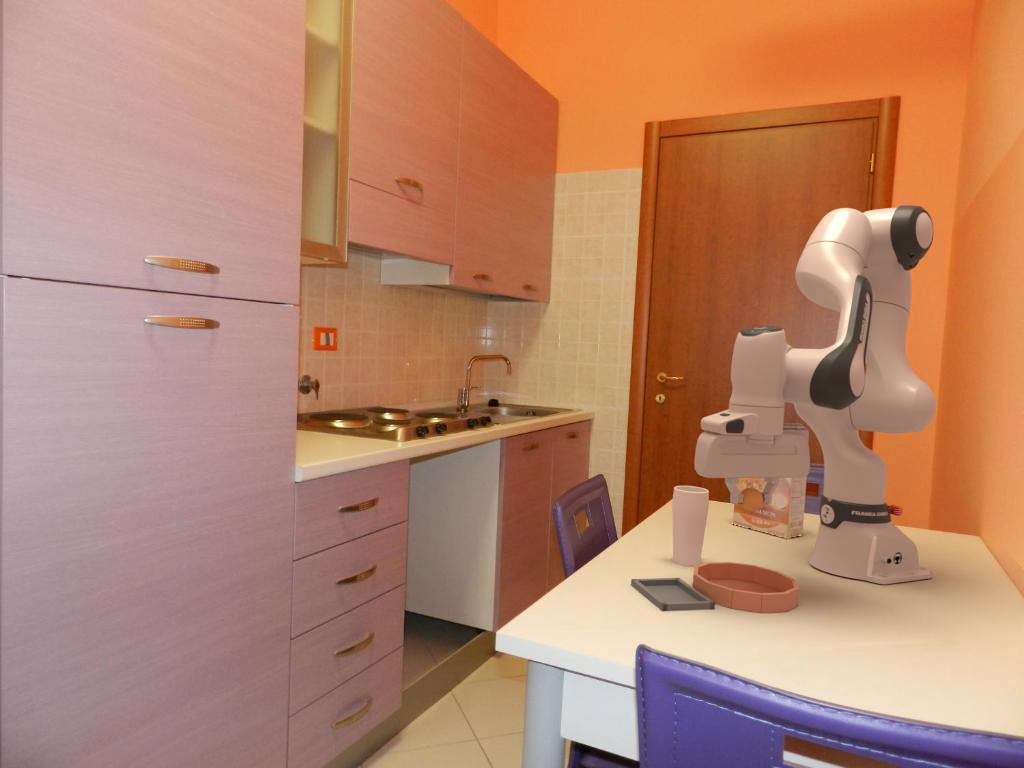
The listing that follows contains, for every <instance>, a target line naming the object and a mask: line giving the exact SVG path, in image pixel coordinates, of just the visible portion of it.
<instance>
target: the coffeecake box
mask: <svg viewBox="0 0 1024 768" xmlns="http://www.w3.org/2000/svg"><path fill="white" fill-rule="evenodd" d="M807 476H808V475H807ZM807 476H806V477H805V478H779V485H778V486H777V488H776V489H775V491H774V493H773V494H772V502H771V504H763V505H762V507H761V508H760V509H758V510H757V511H747V510H745V509H743V508H742V507H741V505H740V504H733V519H732V525H733V524H736V525H740V526H744V527H747V528H751V529H755V530H758V531H762V532H765V533H769V534H773V535H777V536H780V537H784V538H790V537H795V536H799V535H802V536H803V534H804V533H803V532H804V531H803V530H804V519H805V515H804V514H805V507H806V506H805V505H806V492H807V491H806V490H807ZM766 484H767V482H765V478H739V484H736V486H737V489H738V491H739V493H741V491H742V490H744V489H746V488H755V489H757V490H759V491H760V492H763V490H764V488H765V486H766ZM747 528H746V529H747ZM758 531H757V532H758ZM762 532H761V533H762ZM765 533H764V534H765ZM769 534H768V535H769ZM773 535H772V536H773ZM780 537H779V538H780ZM784 538H783V539H784ZM795 538H796V537H795Z"/></svg>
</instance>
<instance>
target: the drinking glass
mask: <svg viewBox="0 0 1024 768" xmlns="http://www.w3.org/2000/svg"><path fill="white" fill-rule="evenodd" d="M709 496H710V491H709V490H708V488H704V487H699V486H693V485H677V486H674V487H673V494H672V512H671V513H672V516H671V517H672V562H673V563H675V564H676V565H680V566H684V567H695V566H698V565H701V564H702V552H703V545H704V539H705V533H706V529H707V528H706V527H707V526H706V525H707V521H708V516H709V515H708V514H709V503H710V502H709V501H710V498H709Z"/></svg>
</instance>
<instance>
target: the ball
mask: <svg viewBox="0 0 1024 768" xmlns="http://www.w3.org/2000/svg"><path fill="white" fill-rule="evenodd" d="M741 493H742V494H744V498H743V504H740V505H741V507H742V508H743V509H745V510H747V511H757V510H758V509H760V508H761V507H762V505H763V501H764V499H763V495H762V494H761V492H760V491H759V490H757V489H755V488H746V489H744V490H742V491H741Z"/></svg>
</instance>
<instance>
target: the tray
mask: <svg viewBox="0 0 1024 768" xmlns="http://www.w3.org/2000/svg"><path fill="white" fill-rule="evenodd" d="M630 580H631V581H630V582H631V583H630V586H632V588H634V589H635V590H636V591H638V592H639V594H641V595H643V597H645V598H646V599H647V600H648V601H649V602H650V603H652V604H653V605H654V606H656V607H657V608H658V609H659V610H661V611H662V612H675V611H677V612H678V611H679V612H680V611H700V610H703V611H704V610H715V608H716V607H715V606H716V603H715V602H713V601H712V600H710V599H709V598H708V597H706V596H705V595H703V594H702V593H700V592H699V591H697V590H696V589H694V588H693V585H690V584H688V583H687V582H686V581H684V580H683V579H681V578H680V577H661V578H659V577H658V578H631V579H630Z"/></svg>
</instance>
